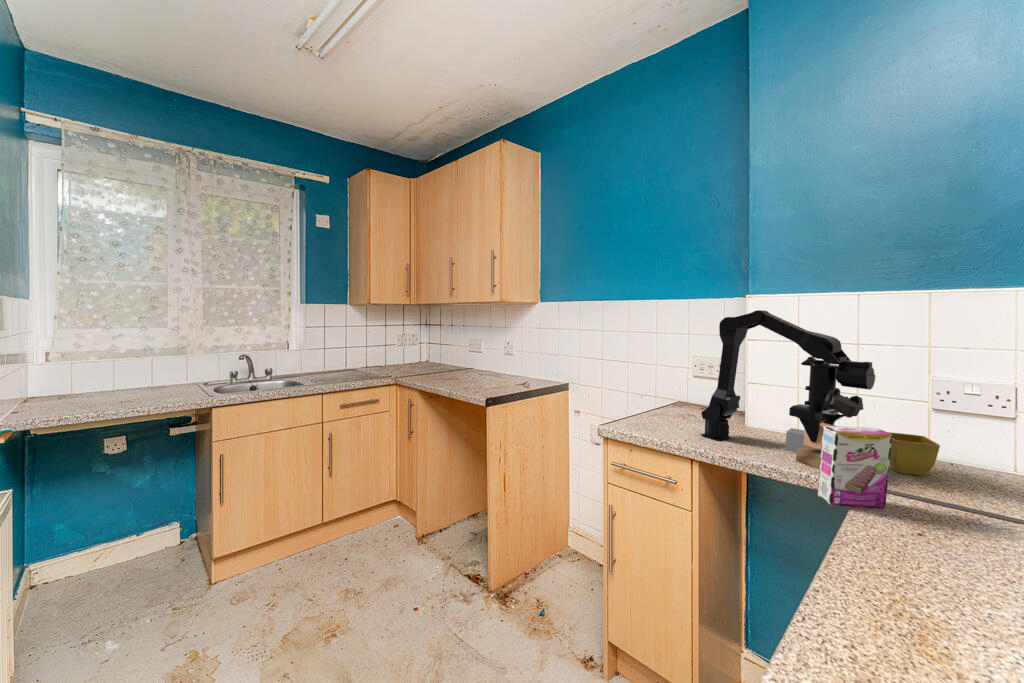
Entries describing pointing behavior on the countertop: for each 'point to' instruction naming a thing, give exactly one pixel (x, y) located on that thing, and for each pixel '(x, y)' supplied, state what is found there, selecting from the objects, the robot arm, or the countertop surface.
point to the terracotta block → (819, 437)
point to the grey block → (794, 440)
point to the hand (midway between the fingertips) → (818, 440)
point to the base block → (809, 456)
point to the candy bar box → (854, 466)
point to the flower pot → (912, 453)
